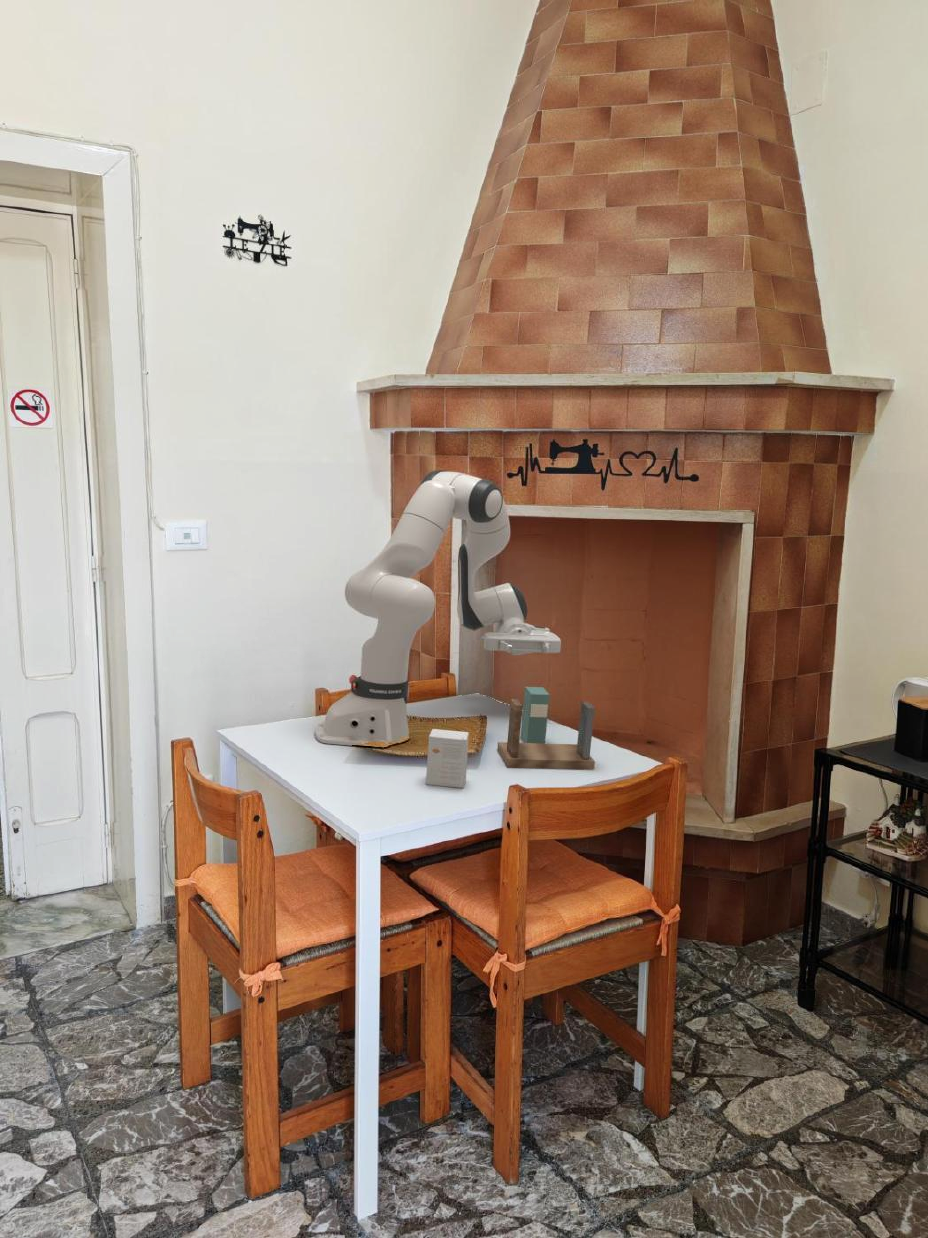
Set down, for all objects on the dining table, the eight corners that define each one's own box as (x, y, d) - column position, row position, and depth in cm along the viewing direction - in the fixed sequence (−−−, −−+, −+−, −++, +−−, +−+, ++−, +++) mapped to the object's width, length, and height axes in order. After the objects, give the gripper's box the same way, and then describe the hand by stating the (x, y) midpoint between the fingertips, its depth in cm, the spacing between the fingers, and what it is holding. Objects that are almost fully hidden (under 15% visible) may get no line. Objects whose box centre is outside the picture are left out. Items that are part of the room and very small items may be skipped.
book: (526, 747, 221) (531, 694, 219) (520, 737, 228) (525, 686, 226) (544, 747, 222) (549, 695, 219) (538, 738, 229) (542, 687, 226)
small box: (466, 779, 195) (470, 732, 193) (463, 789, 190) (467, 739, 188) (428, 775, 196) (432, 728, 194) (425, 784, 190) (428, 735, 189)
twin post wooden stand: (507, 767, 205) (512, 706, 203) (497, 750, 217) (502, 692, 214) (593, 769, 208) (600, 709, 206) (579, 752, 220) (585, 695, 217)
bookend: (582, 759, 208) (588, 708, 206) (576, 751, 214) (581, 701, 212) (589, 759, 209) (594, 708, 206) (582, 751, 214) (587, 701, 212)
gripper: (479, 625, 246) (488, 635, 233) (554, 628, 250) (567, 638, 236) (477, 648, 247) (486, 660, 234) (552, 650, 251) (565, 662, 237)
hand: (527, 649), depth 235 cm, fingers open, 8 cm apart
